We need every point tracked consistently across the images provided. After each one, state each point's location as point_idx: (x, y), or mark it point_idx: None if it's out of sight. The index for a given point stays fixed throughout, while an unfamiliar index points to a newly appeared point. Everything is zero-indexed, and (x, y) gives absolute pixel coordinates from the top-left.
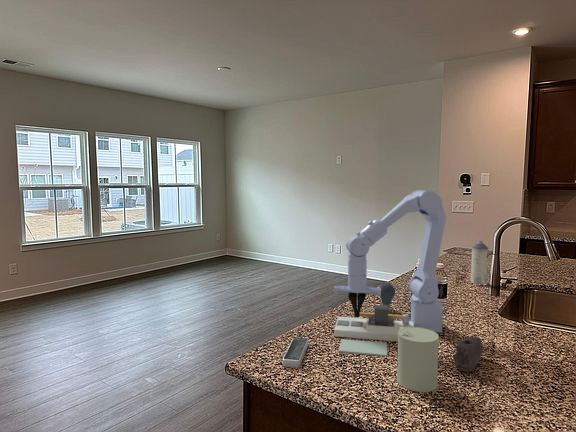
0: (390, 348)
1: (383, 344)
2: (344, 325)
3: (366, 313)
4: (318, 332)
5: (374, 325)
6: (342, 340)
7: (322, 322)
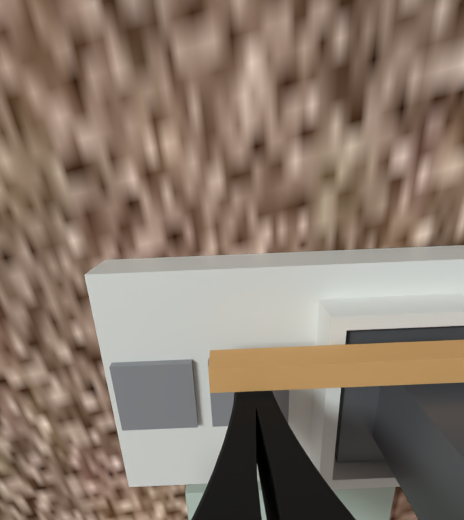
0: (401, 500)
1: (378, 500)
2: (173, 424)
3: (338, 379)
4: (47, 426)
5: (370, 445)
6: (192, 502)
7: (3, 283)
